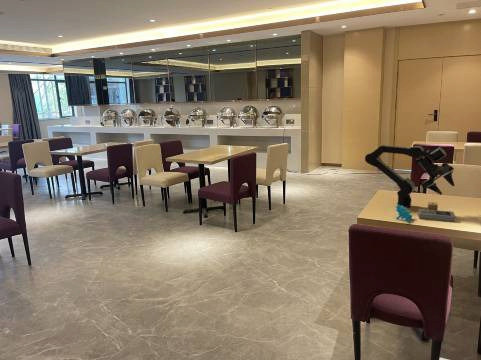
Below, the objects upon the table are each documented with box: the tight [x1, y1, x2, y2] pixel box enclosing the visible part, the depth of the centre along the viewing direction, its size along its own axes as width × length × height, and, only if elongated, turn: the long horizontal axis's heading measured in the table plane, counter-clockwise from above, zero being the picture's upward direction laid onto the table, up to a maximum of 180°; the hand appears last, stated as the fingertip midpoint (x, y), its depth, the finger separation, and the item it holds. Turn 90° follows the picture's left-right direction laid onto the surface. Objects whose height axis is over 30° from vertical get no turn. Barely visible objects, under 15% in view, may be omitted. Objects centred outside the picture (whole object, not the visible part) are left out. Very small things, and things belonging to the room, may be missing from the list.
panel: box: [418, 208, 457, 223], centre depth 189 cm, size 16×9×3 cm, turn 68°
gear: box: [395, 205, 413, 223], centre depth 187 cm, size 11×6×10 cm
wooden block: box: [426, 201, 439, 210], centre depth 199 cm, size 4×4×5 cm
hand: (447, 190), depth 196 cm, fingers open, 9 cm apart
